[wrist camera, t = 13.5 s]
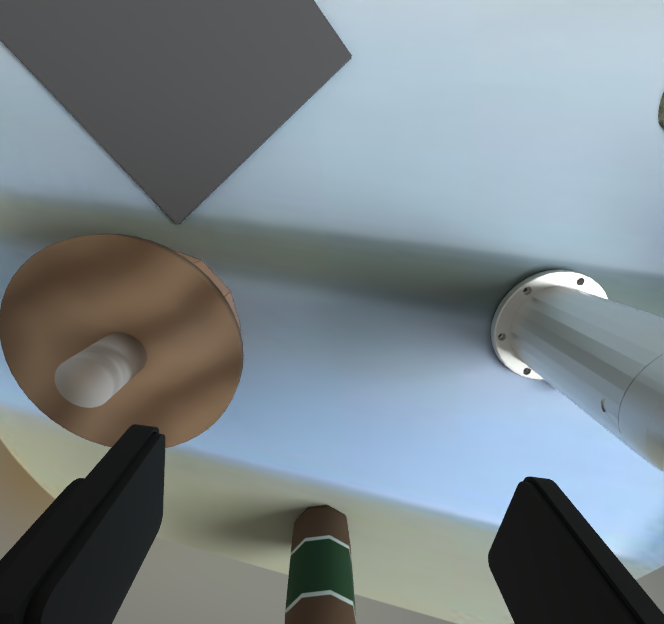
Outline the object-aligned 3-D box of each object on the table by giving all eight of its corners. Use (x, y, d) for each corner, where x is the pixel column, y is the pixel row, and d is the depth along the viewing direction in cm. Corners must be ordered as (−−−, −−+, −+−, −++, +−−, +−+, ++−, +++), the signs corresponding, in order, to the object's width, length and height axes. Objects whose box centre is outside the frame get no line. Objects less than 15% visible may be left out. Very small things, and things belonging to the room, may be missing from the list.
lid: (289, 359, 31) (281, 396, 25) (143, 475, 35) (106, 531, 29) (113, 179, 26) (51, 172, 20) (-36, 336, 30) (-125, 370, 24)
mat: (351, 58, 30) (351, 55, 29) (179, 224, 34) (176, 224, 33) (158, -221, 24) (154, -232, 24) (-19, 16, 28) (-26, 12, 28)
